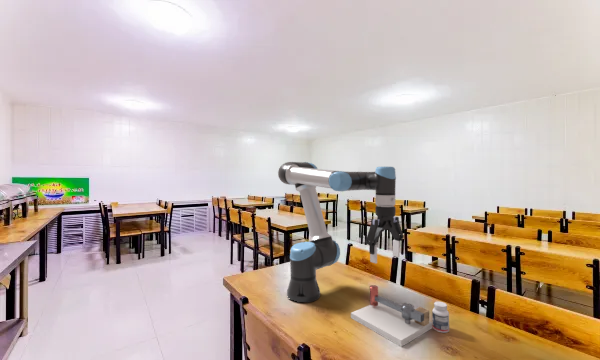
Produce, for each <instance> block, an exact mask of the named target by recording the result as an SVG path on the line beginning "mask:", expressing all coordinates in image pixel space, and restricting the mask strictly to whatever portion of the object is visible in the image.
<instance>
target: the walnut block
mask: <svg viewBox="0 0 600 360" xmlns="http://www.w3.org/2000/svg"><path fill="white" fill-rule="evenodd" d="M414 310H417V311H419V312H422V313H424V321H423V322H419V321H416V320H415V322H416V323H418V324H420V325H422V326H425V325H427V324H429V321H430V309H427V308H425V307H422V306H417V307H416V308H414Z"/></svg>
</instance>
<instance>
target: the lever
mask: <svg viewBox="0 0 600 360" xmlns="http://www.w3.org/2000/svg"><path fill="white" fill-rule="evenodd" d="M378 302H379V303H381V304H384V305H386V306H388V307H390V308H393V309H395V310H397V311H399V312H401V313H402V318H404V319H406V320H413V319H414V320H416V321H419V322H423V321H424V313H422V312H419V311H417V310H414V309H415V308H414V307H415V306H414V305H413V304H411V303H401V304H400V303H398V302H396V301H392V300H391V299H388V298H385V297H384V296H381V295H379V286H377V285H374V284H371V285H369V305H372V306H378Z"/></svg>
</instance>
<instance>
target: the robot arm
mask: <svg viewBox="0 0 600 360" xmlns="http://www.w3.org/2000/svg"><path fill="white" fill-rule="evenodd" d="M277 174H278V175H277V176H278V179H279V180H280V181H281V182H282V183H283V184H285V185H291V186H292V185H293V186H294V187H295V190H296V191H297V192H299V195H300V196H299V197H300V199H301V203H302V206H303V207H302V208H303V211H304V216H305V220H306V223H307V228H308V232H309V235H310V239H308V241H304V242H303V241H302V242H297V243H295V244H293V245H292V246H291V247H290V250H289V251H290V253H289V259H290V264H289V265H290V280H289V283H288V287H287V291H286V297H287V296H288V297H287V299H288V298H290V299H291V300H294V301H297V302H296V303H299V302H307V303H312V302H315V301H317V300H319V298H320V296H321V290H320V287H319V284H318V281H317V270H319V269H320V270H321V269H323V268H325V267H329V266H331V265H334V264H336V263H337V262H338V261H339V259H340V256H341V248H340V245H339V243H338V242H336V241H335V240H334V239H333V237H332V235H331V234H330V233H328V230H327V226H326V224H325V223H326V221H325V219H324V214H323V211H322V207H321V204H320V200H319V196H318V192H317V189H316V188H317V187H319V188H326V189H331V190H333V191H335V192H348V191H349V192H350V191H363V190H364V191H365V190H366V191H375V199H374V200H375V205H376V206H375V215H376V217H377V218H371V221H370V227H369V230H368V233H367V235H366V239H365V242H364V243H365V244H366V245H368V246H369V261H370V263H373V264H378V245H377V243H378V241H379V239H380V237H381V235H382V233H383V232H385V231H386V230H388V231H389V233H390V235H391V236H392V237H393V240H392V256H393V257H396V258H400V253H401V252H400V248H401V242H402V241H403V240H404V238H405V236H404V233H403V230H402V227H401V224H400V218H399V216H396V207H395V206H396V183H397V181H396V179H397V174H396V168H395V167H394V166H376V167H375V171H343V170H331V169H322V168H318V167H317V166H316V165H315V164H314V163H312V162H306V161H305V162H302V161H287V162H284V163H283V164H281V166H279V168H278V171H277ZM290 299H289V300H290ZM291 300H290V301H291ZM294 301H293V302H294Z"/></svg>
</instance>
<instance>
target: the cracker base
mask: <svg viewBox="0 0 600 360" xmlns="http://www.w3.org/2000/svg"><path fill="white" fill-rule="evenodd" d="M350 319H352V320H353V321H355V322H357V323H359V324H361V325H362V326H364V327H366V328H367V329H370V330H371V331H372V332H375V333H376V334H378V335H381V336H382V337H383V338H385V339H387V340H388V341H390V342H392V343H394V344H395V345H397V346H399V347H403V346H404V345H407V344H409V342H412V341H414V340H415V339H417V338H418V337H420V336H422V335H423V334H426V333H427V332H428V331H430V330H432V329H433V321H430V320H429V324H427V325H425V326H422V325H420V324H418V323H416V322H415V320H414V319H413V320H406V319H404V318H402V313H401V312H399V311H397V310H395V309H393V308H390V307H388V306H386V305H384V304H381V303H379V302H378V306H372V305H370V304H369V305H366V306H364V307H361V308H359V309H357V310H354V311H352V312H350Z"/></svg>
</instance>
